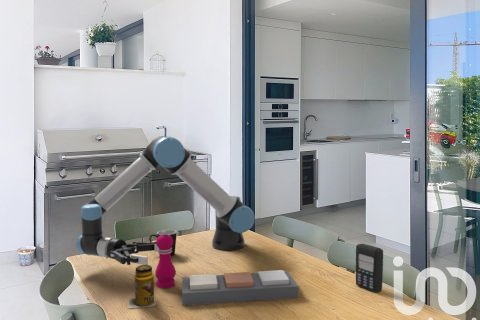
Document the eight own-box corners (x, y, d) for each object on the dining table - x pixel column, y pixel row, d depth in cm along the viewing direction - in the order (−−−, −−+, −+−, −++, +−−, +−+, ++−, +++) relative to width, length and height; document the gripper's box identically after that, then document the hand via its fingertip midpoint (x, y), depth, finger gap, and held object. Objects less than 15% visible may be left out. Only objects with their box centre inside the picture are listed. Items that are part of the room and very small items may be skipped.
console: (182, 288, 152) (182, 277, 151) (288, 281, 157) (288, 271, 156) (182, 305, 138) (182, 293, 138) (298, 297, 143) (298, 286, 142)
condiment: (155, 306, 138) (154, 269, 137) (128, 309, 136) (127, 272, 135) (155, 297, 145) (153, 262, 144) (129, 299, 143) (127, 264, 142)
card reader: (353, 285, 152) (354, 244, 151) (360, 283, 155) (361, 242, 153) (375, 294, 145) (376, 250, 144) (383, 291, 147) (384, 248, 146)
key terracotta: (224, 281, 151) (224, 273, 151) (249, 280, 152) (249, 271, 152) (226, 291, 142) (226, 283, 142) (253, 290, 143) (253, 281, 143)
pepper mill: (159, 290, 150) (157, 234, 148) (153, 283, 157) (151, 229, 155) (178, 286, 153) (177, 231, 152) (172, 279, 160) (170, 227, 158)
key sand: (189, 283, 149) (189, 275, 149) (215, 282, 151) (215, 273, 150) (190, 294, 141) (189, 285, 140) (217, 292, 142) (217, 283, 141)
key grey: (258, 279, 152) (258, 271, 152) (283, 278, 153) (283, 270, 153) (262, 289, 143) (262, 280, 143) (289, 288, 145) (289, 279, 144)
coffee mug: (181, 253, 191) (180, 231, 190) (168, 258, 184) (167, 236, 183) (161, 249, 197) (161, 228, 196) (148, 254, 190) (147, 232, 189)
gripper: (134, 248, 175) (178, 255, 166) (88, 268, 153) (136, 277, 144) (133, 230, 174) (177, 236, 165) (87, 247, 152) (135, 255, 143)
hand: (158, 255), depth 154 cm, fingers open, 13 cm apart
